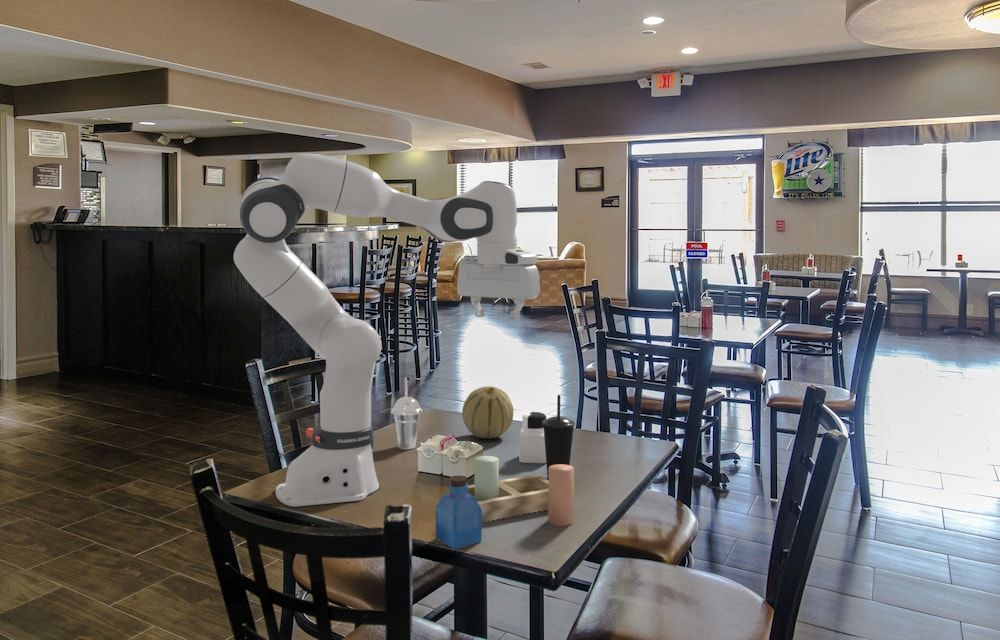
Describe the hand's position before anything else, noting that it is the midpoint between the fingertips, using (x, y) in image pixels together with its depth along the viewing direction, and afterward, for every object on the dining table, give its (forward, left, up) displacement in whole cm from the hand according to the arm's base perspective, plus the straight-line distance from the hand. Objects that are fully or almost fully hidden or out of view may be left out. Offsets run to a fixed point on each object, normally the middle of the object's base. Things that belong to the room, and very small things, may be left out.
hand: (497, 317), depth 169 cm
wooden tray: (-5, -14, -39) cm, 41 cm away
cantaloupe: (+17, +37, -39) cm, 56 cm away
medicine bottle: (+18, +13, -39) cm, 45 cm away
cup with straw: (-7, +38, -39) cm, 55 cm away
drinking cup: (+15, -3, -39) cm, 42 cm away
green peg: (-10, -14, -39) cm, 42 cm away
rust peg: (+1, -26, -39) cm, 46 cm away
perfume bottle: (-21, -25, -39) cm, 51 cm away
